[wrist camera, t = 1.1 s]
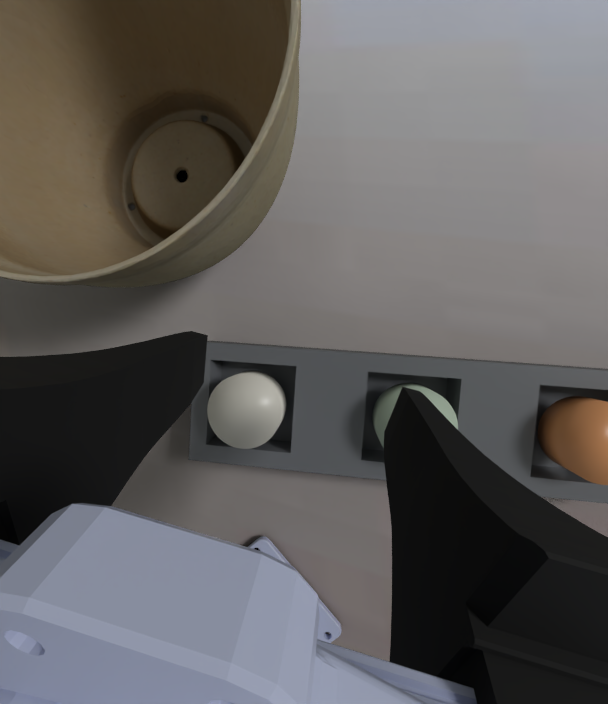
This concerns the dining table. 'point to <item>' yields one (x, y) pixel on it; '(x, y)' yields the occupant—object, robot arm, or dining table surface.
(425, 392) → the sage button
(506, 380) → the button panel
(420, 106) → the dining table surface
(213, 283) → the dining table surface
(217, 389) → the cream button
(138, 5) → the planter bowl
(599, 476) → the orange button
